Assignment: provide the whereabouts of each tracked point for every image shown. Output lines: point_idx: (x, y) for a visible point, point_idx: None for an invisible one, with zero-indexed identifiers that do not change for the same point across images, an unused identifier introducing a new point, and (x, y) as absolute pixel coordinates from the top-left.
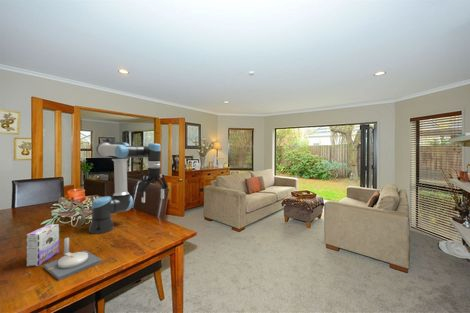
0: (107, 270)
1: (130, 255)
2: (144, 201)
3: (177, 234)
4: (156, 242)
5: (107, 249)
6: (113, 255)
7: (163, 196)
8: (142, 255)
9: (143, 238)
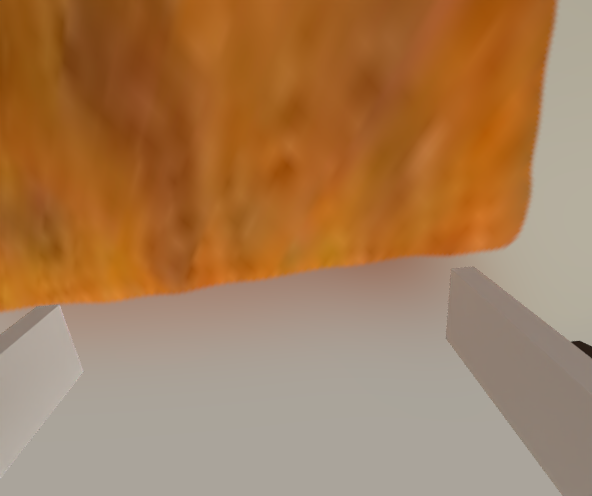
0: (15, 305)
1: (125, 252)
2: (59, 388)
3: (438, 199)
4: (287, 210)
5: (30, 89)
6: (52, 192)
7: (475, 366)
8: (171, 290)
9: (257, 94)
